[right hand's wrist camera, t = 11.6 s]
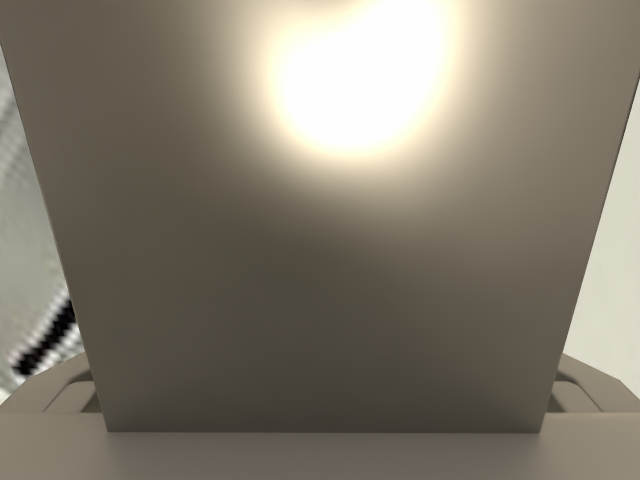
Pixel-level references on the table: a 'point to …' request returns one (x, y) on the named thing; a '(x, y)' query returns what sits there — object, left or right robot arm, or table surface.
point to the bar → (323, 201)
